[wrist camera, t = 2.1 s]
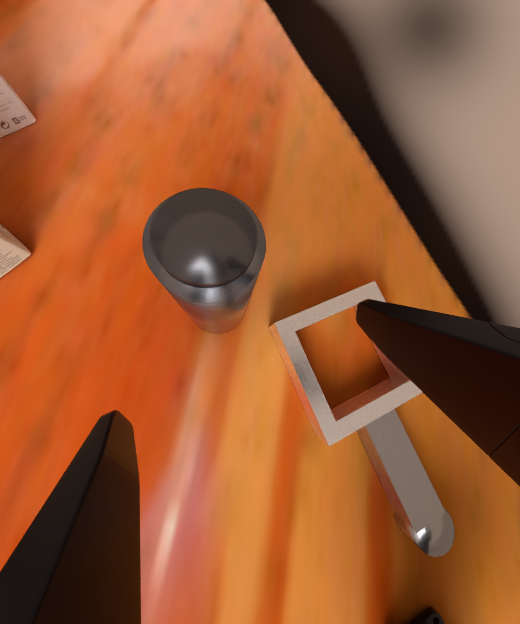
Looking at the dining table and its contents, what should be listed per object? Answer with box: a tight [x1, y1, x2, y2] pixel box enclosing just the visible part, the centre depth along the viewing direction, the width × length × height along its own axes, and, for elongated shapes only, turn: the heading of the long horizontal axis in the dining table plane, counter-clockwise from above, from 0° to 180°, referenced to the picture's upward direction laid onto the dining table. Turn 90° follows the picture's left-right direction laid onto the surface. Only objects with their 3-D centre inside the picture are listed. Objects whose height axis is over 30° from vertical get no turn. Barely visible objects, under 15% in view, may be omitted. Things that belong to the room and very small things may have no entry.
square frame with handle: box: [269, 281, 455, 557], centre depth 18 cm, size 20×9×2 cm, turn 23°
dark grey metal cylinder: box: [143, 188, 266, 334], centre depth 14 cm, size 5×5×12 cm
